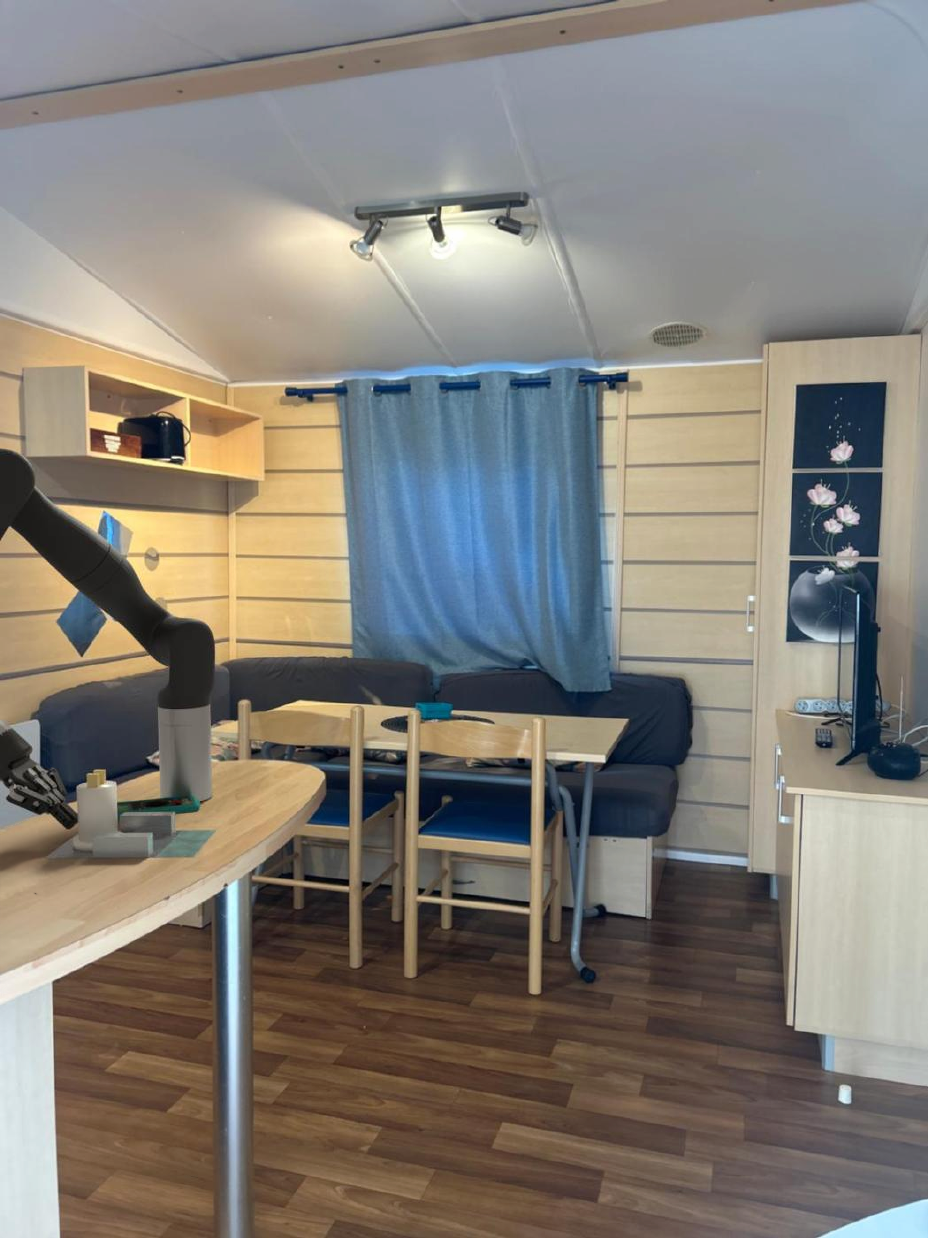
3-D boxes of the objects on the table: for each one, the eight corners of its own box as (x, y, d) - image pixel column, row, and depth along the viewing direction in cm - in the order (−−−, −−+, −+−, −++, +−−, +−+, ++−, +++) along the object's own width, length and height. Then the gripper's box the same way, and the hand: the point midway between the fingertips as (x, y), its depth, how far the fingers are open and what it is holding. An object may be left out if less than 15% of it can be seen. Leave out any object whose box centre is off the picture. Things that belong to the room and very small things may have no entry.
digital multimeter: (202, 819, 158) (202, 802, 158) (110, 829, 152) (109, 812, 151) (196, 808, 164) (196, 792, 164) (107, 818, 158) (107, 801, 158)
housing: (80, 837, 146) (80, 812, 146) (216, 836, 146) (216, 811, 146) (44, 865, 133) (43, 837, 133) (193, 863, 133) (193, 836, 133)
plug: (84, 836, 143) (82, 766, 142) (130, 836, 143) (128, 766, 142) (64, 851, 136) (61, 778, 135) (113, 851, 136) (110, 777, 135)
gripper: (-15, 736, 132) (74, 819, 133) (28, 719, 145) (108, 795, 146) (-51, 773, 132) (38, 856, 133) (-5, 753, 145) (76, 828, 146)
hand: (75, 824), depth 139 cm, fingers closed
